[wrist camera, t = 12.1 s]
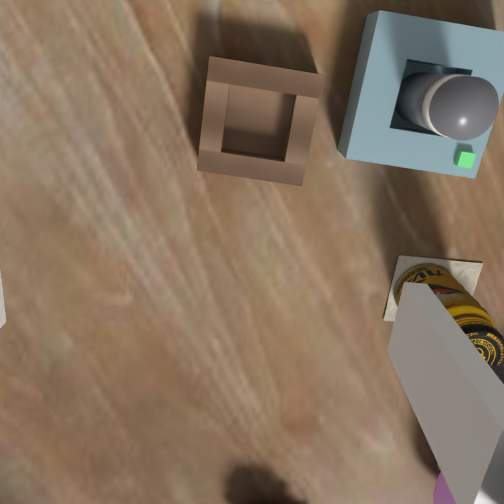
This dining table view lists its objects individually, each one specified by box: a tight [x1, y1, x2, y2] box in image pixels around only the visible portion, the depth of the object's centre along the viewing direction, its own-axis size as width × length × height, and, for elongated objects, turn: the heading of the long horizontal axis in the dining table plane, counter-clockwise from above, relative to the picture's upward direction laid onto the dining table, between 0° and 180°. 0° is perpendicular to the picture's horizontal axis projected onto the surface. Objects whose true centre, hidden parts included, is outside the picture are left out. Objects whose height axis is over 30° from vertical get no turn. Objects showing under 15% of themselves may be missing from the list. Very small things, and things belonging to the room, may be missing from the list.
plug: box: [395, 72, 499, 141], centre depth 36 cm, size 4×4×10 cm
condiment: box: [383, 256, 504, 366], centre depth 43 cm, size 7×8×12 cm
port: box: [338, 10, 504, 178], centre depth 39 cm, size 11×11×5 cm
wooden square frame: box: [197, 56, 324, 186], centre depth 40 cm, size 9×9×3 cm
